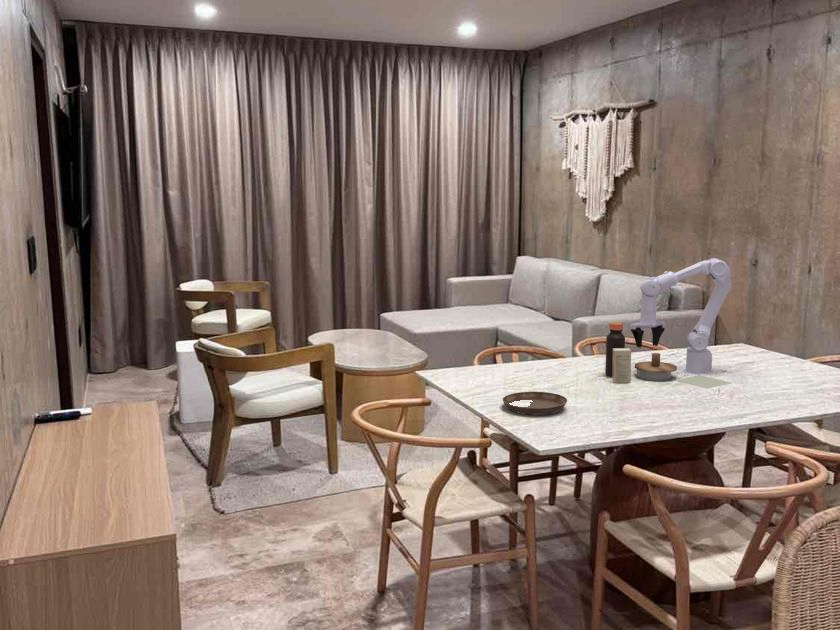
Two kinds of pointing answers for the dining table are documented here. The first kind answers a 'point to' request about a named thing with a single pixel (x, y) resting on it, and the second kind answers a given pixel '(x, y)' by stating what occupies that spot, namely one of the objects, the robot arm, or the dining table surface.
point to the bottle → (613, 344)
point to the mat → (703, 381)
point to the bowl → (653, 375)
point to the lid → (655, 365)
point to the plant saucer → (536, 402)
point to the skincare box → (621, 365)
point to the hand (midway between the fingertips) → (647, 346)
